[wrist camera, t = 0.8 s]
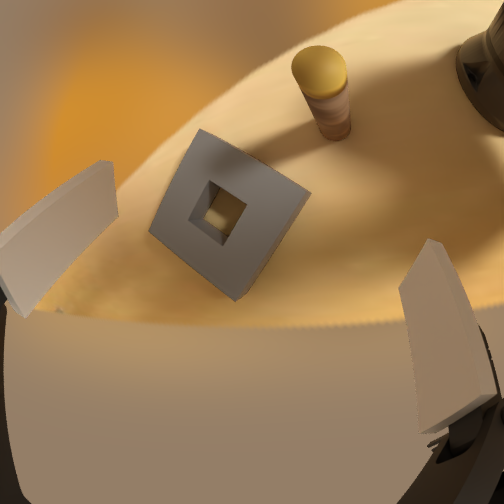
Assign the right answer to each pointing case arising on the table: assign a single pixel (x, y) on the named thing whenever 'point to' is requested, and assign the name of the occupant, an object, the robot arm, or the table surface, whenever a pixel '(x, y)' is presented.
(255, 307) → the table surface
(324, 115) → the yellow capped peg
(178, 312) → the table surface
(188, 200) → the socket plate
